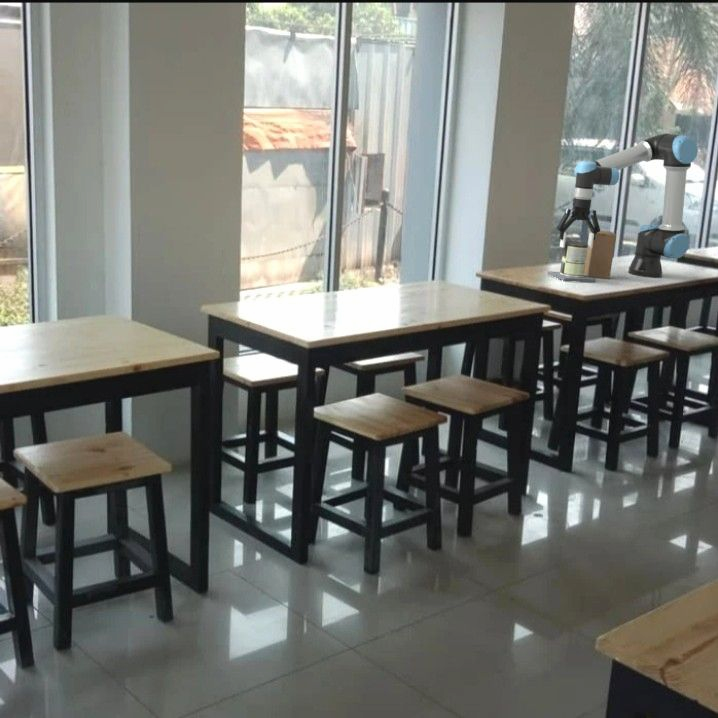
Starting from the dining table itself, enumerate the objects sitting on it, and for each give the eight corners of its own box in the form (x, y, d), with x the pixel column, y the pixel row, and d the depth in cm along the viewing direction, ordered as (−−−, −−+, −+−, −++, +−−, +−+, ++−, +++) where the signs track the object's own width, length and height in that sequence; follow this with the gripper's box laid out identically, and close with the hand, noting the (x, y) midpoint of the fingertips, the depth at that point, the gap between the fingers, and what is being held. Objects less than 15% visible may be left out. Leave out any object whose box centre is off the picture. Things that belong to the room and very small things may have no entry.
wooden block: (609, 279, 460) (616, 234, 455) (587, 277, 460) (594, 232, 455) (604, 275, 470) (611, 231, 465) (582, 273, 470) (589, 229, 465)
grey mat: (577, 275, 461) (577, 272, 461) (594, 282, 447) (595, 279, 447) (547, 274, 456) (547, 271, 456) (564, 281, 442) (564, 278, 442)
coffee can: (554, 273, 452) (559, 240, 449) (571, 272, 458) (575, 240, 455) (571, 277, 444) (576, 245, 441) (588, 277, 450) (593, 245, 447)
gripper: (603, 198, 450) (596, 246, 456) (552, 195, 442) (546, 245, 448) (612, 200, 444) (605, 249, 449) (561, 198, 436) (554, 248, 441)
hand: (575, 247), depth 448 cm, fingers open, 13 cm apart
